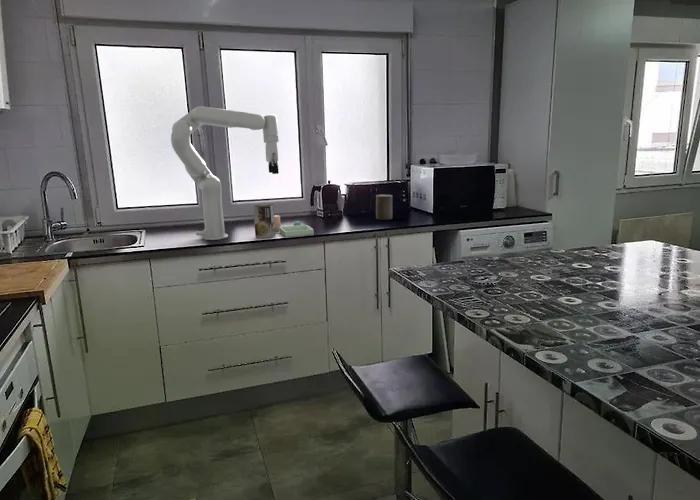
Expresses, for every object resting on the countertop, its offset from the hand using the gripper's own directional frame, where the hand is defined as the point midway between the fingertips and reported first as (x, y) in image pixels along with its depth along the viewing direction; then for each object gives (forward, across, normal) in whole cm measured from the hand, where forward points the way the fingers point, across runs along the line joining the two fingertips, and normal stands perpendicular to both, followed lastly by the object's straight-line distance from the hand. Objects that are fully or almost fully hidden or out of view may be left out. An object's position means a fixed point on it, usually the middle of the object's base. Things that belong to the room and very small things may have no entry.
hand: (273, 173), depth 265 cm
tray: (+31, +12, +7) cm, 34 cm away
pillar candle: (+32, -10, +65) cm, 73 cm away
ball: (+31, -3, +11) cm, 33 cm away
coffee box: (+31, +12, -9) cm, 34 cm away
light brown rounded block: (+31, -2, -2) cm, 31 cm away
